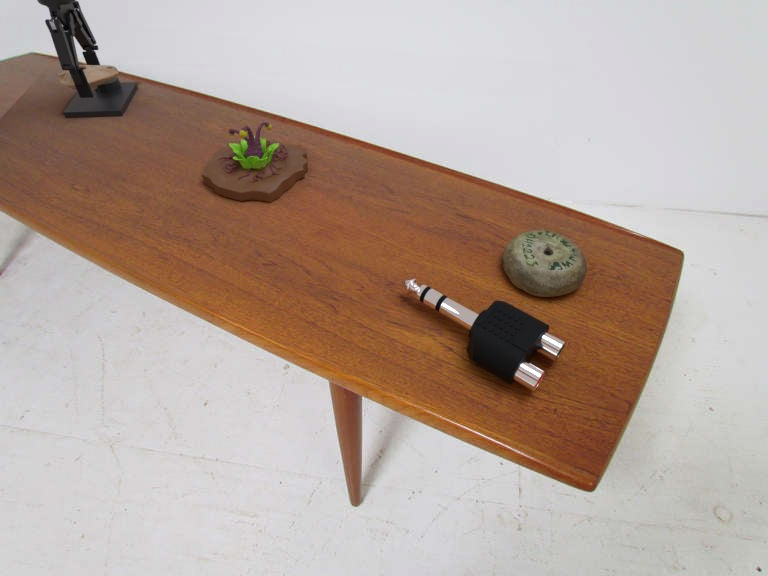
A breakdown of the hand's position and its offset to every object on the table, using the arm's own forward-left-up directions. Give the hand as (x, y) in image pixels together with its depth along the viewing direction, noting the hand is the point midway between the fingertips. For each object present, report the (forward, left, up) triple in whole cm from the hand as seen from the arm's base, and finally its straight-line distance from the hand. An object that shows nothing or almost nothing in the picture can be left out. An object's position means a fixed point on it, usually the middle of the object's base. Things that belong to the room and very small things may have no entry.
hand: (93, 87), depth 119 cm
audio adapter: (+74, -79, -5) cm, 108 cm away
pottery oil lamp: (0, 0, -1) cm, 1 cm away
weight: (+89, -68, -5) cm, 112 cm away
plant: (+40, -34, -5) cm, 52 cm away
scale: (0, +2, -5) cm, 5 cm away
